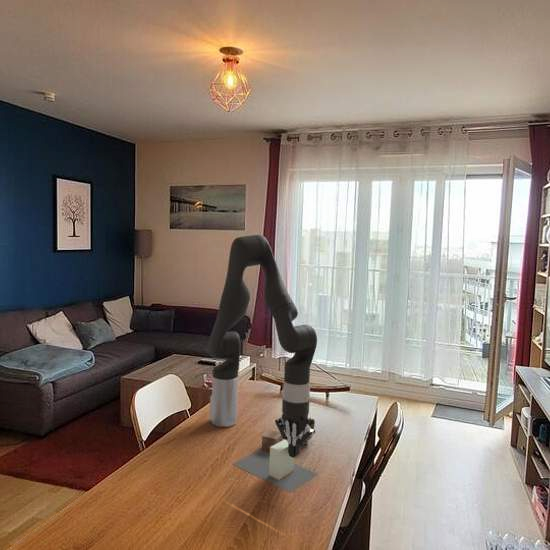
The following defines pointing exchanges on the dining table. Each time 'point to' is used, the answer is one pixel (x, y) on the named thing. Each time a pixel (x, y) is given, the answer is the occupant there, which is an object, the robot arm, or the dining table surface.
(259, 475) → the mat
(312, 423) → the filigree lamp shade
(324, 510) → the dining table surface
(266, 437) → the walnut cube
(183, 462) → the dining table surface
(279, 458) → the cream block
